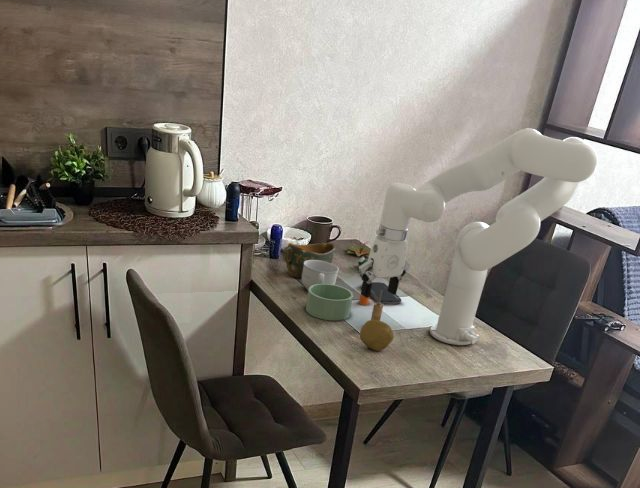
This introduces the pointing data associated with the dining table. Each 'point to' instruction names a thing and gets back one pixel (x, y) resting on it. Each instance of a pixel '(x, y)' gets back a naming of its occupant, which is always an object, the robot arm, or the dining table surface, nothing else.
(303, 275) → the teacup
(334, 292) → the crock
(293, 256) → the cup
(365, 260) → the green toy figure
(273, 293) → the dining table surface
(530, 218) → the robot arm
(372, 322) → the potato
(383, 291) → the phone
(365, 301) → the screwdriver
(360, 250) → the lily flower
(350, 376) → the dining table surface
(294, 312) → the dining table surface
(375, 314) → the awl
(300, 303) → the dining table surface
